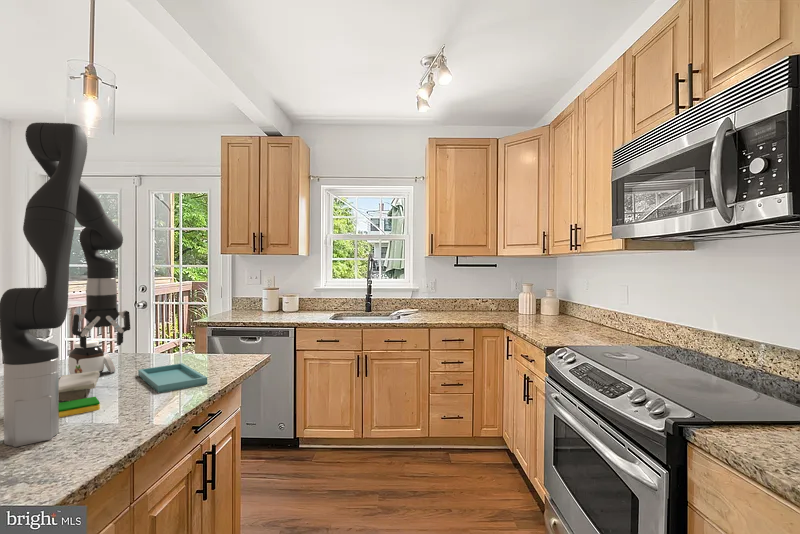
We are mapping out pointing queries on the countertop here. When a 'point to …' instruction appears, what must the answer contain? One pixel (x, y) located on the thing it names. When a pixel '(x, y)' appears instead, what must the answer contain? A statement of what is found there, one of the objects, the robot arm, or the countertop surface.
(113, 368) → the spread jar
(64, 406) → the dish sponge
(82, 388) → the packaged product
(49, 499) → the countertop surface
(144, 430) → the countertop surface
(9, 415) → the robot arm
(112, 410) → the countertop surface
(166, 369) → the tray
